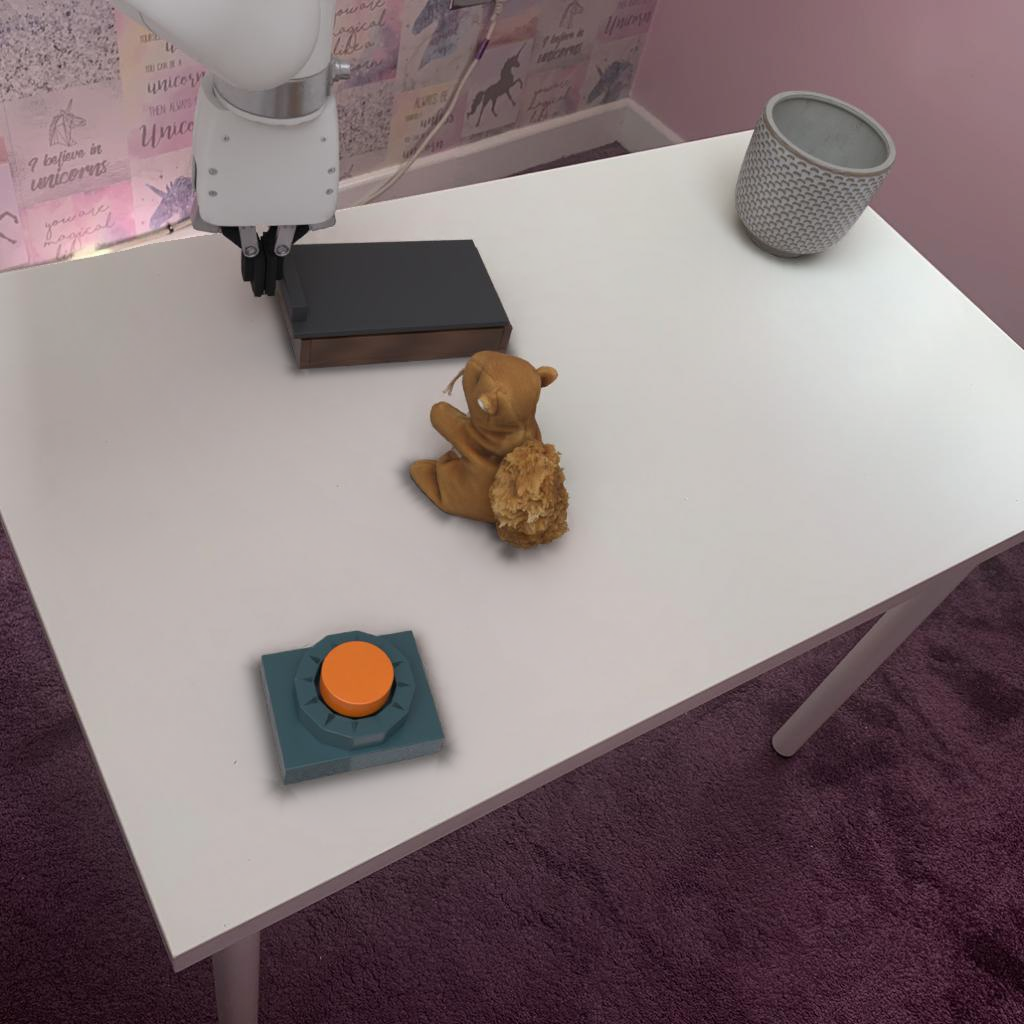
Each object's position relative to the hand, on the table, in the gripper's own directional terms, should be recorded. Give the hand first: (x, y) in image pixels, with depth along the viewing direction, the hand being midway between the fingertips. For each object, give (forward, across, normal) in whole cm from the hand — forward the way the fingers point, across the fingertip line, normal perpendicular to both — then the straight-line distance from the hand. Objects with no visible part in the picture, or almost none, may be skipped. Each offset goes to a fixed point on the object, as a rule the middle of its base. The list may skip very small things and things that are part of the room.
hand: (261, 284), depth 85 cm
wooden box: (+4, -11, 0) cm, 12 cm away
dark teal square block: (+4, +1, +36) cm, 36 cm away
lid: (+1, -11, 0) cm, 11 cm away
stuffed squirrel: (+5, -14, +21) cm, 26 cm away
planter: (+4, -56, -9) cm, 57 cm away
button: (+1, +1, +36) cm, 36 cm away
